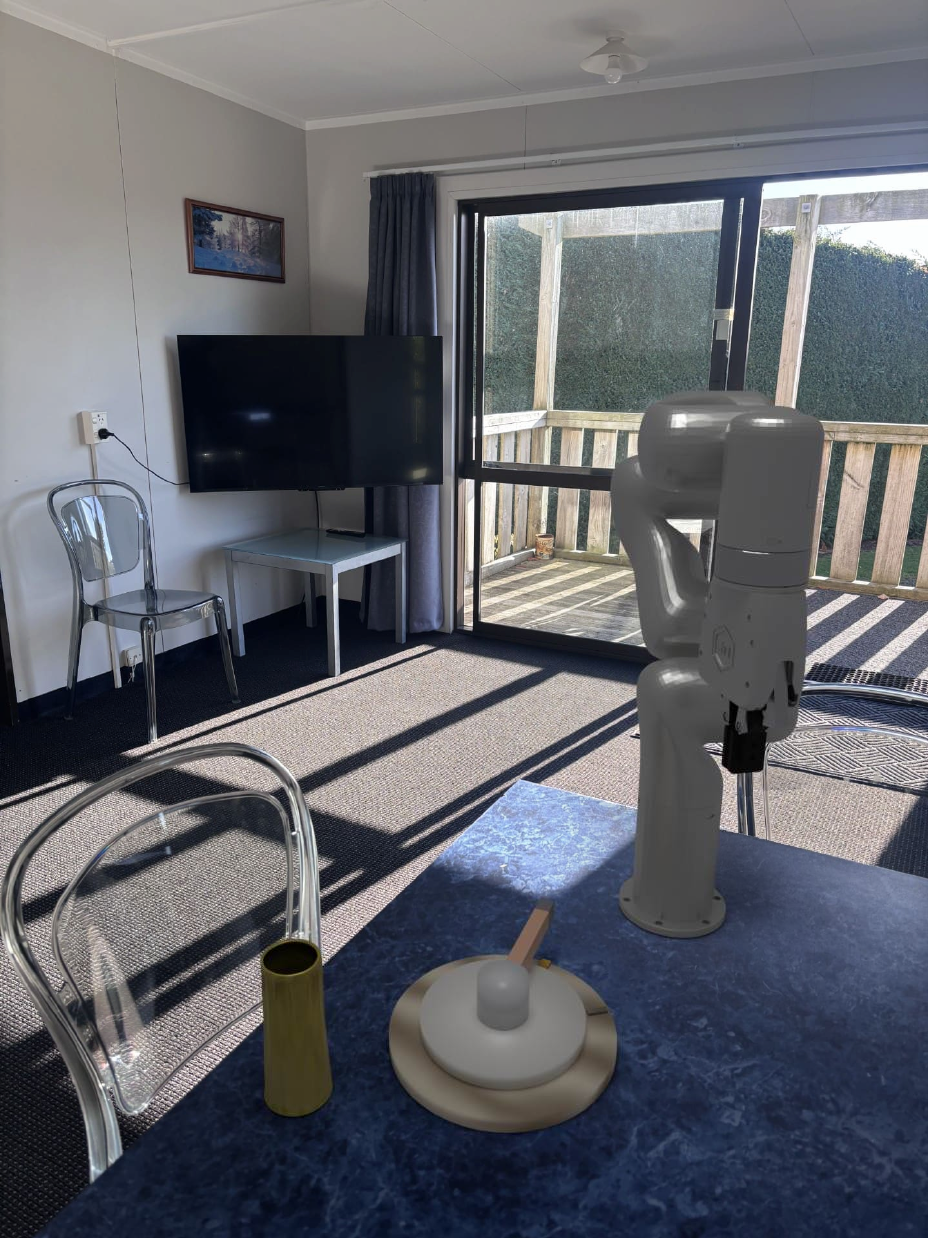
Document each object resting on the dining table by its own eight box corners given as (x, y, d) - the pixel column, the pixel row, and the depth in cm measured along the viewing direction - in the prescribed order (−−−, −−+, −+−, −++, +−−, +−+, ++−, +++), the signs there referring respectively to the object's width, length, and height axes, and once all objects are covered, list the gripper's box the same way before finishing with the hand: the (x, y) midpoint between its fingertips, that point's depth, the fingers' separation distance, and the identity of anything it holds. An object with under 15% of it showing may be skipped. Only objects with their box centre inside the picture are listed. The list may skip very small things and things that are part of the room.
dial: (559, 1111, 77) (561, 1058, 76) (391, 1059, 83) (390, 1009, 82) (617, 956, 97) (619, 912, 96) (478, 923, 103) (479, 880, 102)
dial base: (456, 944, 102) (456, 929, 102) (645, 1007, 92) (646, 992, 92) (343, 1075, 83) (342, 1058, 83) (565, 1172, 74) (565, 1154, 73)
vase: (318, 1124, 78) (311, 984, 74) (252, 1112, 79) (242, 974, 75) (341, 1071, 84) (336, 939, 80) (280, 1061, 85) (271, 931, 81)
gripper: (680, 549, 81) (666, 739, 86) (767, 590, 67) (745, 813, 72) (756, 546, 82) (739, 732, 87) (857, 585, 68) (829, 804, 73)
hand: (741, 768), depth 79 cm, fingers closed
